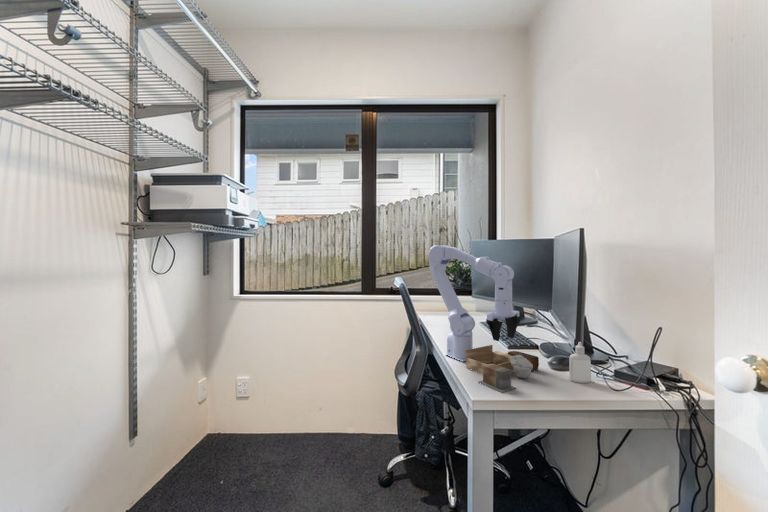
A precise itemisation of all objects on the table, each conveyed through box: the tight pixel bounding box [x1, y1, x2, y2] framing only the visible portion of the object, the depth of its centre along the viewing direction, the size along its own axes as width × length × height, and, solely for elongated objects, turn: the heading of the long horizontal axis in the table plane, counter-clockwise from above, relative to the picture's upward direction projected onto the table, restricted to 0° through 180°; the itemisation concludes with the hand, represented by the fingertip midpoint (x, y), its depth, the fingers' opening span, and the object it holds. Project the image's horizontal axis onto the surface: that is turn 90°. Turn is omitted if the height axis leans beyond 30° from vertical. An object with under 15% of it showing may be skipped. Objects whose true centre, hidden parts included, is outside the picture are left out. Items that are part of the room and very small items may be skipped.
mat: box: [478, 379, 517, 394], centre depth 101 cm, size 9×6×1 cm, turn 31°
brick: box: [506, 350, 540, 373], centre depth 117 cm, size 11×4×5 cm, turn 31°
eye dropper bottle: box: [568, 341, 592, 384], centre depth 104 cm, size 4×6×12 cm
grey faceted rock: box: [510, 355, 533, 379], centre depth 107 cm, size 6×7×7 cm
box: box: [482, 362, 512, 390], centre depth 101 cm, size 7×4×5 cm, turn 31°
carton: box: [465, 344, 515, 375], centre depth 116 cm, size 11×16×6 cm
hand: (503, 338), depth 118 cm, fingers open, 7 cm apart
